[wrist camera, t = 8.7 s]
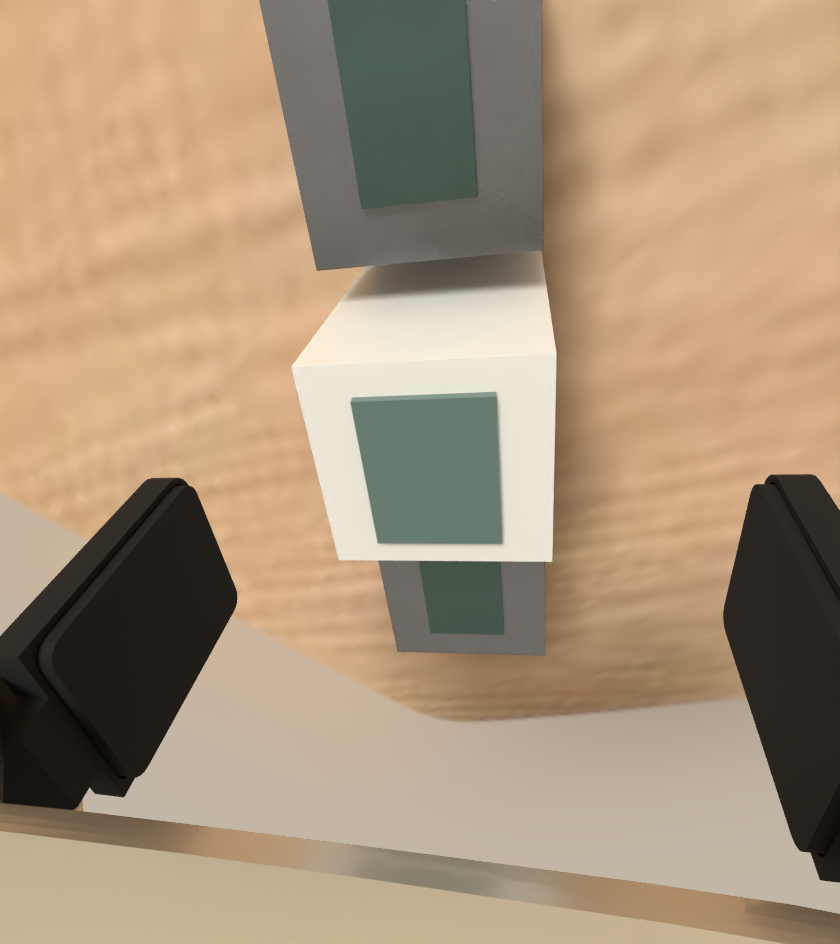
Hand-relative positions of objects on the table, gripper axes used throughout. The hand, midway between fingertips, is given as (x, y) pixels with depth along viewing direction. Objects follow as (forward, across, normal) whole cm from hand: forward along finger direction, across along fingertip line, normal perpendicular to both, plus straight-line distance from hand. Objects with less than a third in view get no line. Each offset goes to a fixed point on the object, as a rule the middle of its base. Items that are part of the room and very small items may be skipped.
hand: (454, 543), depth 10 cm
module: (+10, +1, 0) cm, 10 cm away
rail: (+12, +1, 0) cm, 12 cm away
